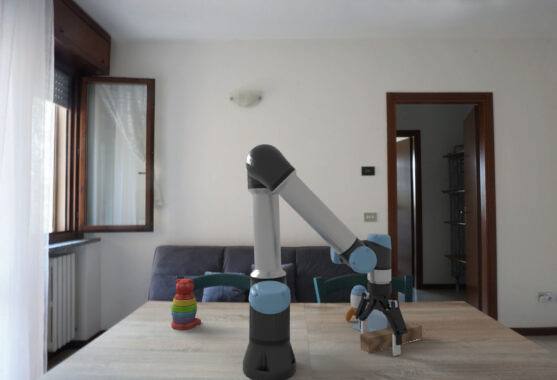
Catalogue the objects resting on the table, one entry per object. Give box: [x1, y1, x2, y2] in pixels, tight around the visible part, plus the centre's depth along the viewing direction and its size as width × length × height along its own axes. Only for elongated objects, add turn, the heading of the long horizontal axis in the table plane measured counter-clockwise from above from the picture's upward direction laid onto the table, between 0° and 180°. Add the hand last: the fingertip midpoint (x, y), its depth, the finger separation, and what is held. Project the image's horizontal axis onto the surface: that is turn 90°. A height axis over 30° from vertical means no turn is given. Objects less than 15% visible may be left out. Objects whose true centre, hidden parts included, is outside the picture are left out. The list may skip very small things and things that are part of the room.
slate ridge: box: [352, 307, 391, 332], centre depth 131 cm, size 10×14×7 cm
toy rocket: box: [345, 284, 369, 322], centre depth 142 cm, size 10×11×15 cm
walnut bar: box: [359, 322, 423, 354], centre depth 119 cm, size 24×4×5 cm, turn 118°
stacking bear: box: [170, 278, 202, 331], centre depth 136 cm, size 11×10×18 cm
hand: (379, 347), depth 116 cm, fingers open, 13 cm apart
